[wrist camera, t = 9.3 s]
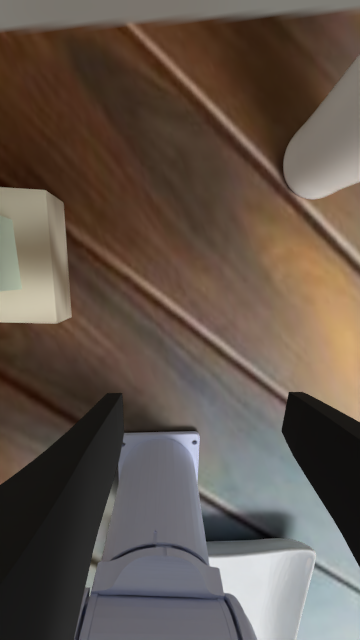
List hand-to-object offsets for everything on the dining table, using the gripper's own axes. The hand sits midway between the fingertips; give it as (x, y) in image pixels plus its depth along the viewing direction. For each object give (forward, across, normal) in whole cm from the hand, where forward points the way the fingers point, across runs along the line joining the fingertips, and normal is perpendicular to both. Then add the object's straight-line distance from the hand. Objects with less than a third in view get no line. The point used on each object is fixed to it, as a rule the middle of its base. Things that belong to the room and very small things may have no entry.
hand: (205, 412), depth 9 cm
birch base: (+11, +14, -6) cm, 19 cm away
